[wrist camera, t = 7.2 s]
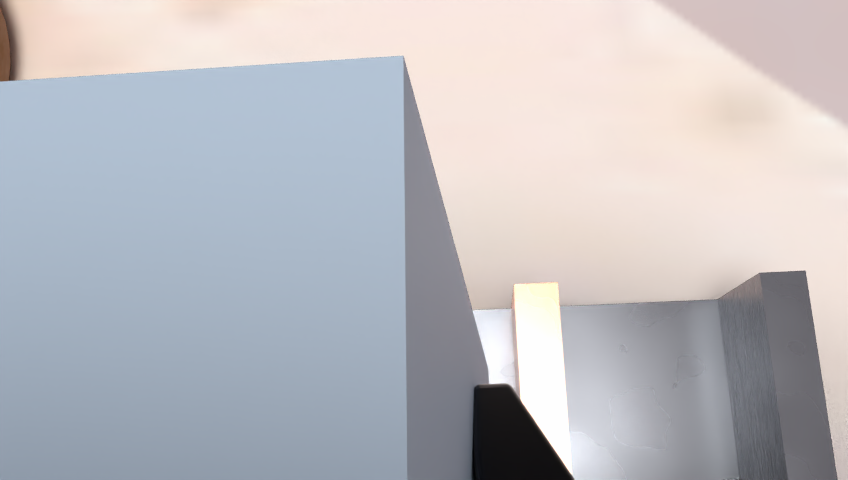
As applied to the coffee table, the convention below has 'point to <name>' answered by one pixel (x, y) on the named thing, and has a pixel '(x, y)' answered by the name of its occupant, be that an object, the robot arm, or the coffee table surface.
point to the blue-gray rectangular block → (230, 279)
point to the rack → (670, 382)
